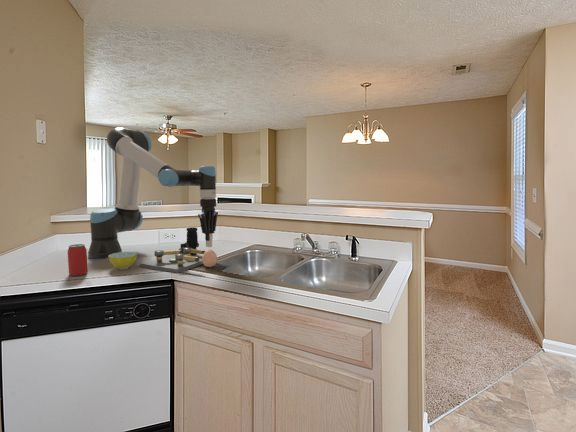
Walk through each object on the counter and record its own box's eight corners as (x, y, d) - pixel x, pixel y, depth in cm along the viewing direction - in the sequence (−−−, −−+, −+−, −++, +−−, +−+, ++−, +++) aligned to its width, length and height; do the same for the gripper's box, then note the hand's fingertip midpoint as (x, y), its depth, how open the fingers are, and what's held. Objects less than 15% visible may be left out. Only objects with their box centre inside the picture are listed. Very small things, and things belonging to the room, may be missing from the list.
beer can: (91, 272, 142) (89, 243, 140) (82, 276, 135) (80, 247, 134) (75, 271, 141) (73, 243, 140) (65, 276, 135) (63, 247, 133)
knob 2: (173, 265, 147) (173, 255, 146) (179, 263, 150) (179, 253, 150) (196, 269, 142) (195, 258, 141) (202, 266, 145) (201, 256, 145)
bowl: (106, 272, 141) (105, 258, 140) (112, 265, 152) (111, 252, 151) (135, 271, 144) (135, 256, 143) (139, 264, 155) (138, 251, 154)
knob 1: (181, 258, 160) (181, 248, 159) (187, 256, 164) (187, 247, 163) (202, 261, 155) (202, 251, 155) (207, 259, 159) (207, 249, 158)
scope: (187, 226, 181) (203, 227, 177) (188, 251, 182) (203, 253, 178) (177, 228, 173) (193, 229, 169) (178, 254, 175) (193, 256, 171)
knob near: (154, 262, 151) (154, 252, 151) (154, 260, 155) (154, 250, 154) (183, 260, 155) (182, 250, 155) (182, 258, 159) (182, 248, 159)
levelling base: (139, 266, 151) (139, 261, 151) (171, 257, 169) (171, 252, 169) (177, 272, 142) (177, 267, 142) (207, 262, 160) (207, 257, 160)
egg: (220, 267, 152) (219, 249, 151) (206, 269, 148) (206, 252, 147) (212, 264, 157) (212, 247, 156) (199, 266, 153) (199, 249, 152)
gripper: (206, 199, 154) (207, 250, 156) (222, 197, 166) (223, 245, 168) (192, 198, 157) (194, 248, 159) (210, 197, 169) (211, 243, 171)
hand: (209, 246), depth 164 cm, fingers closed
